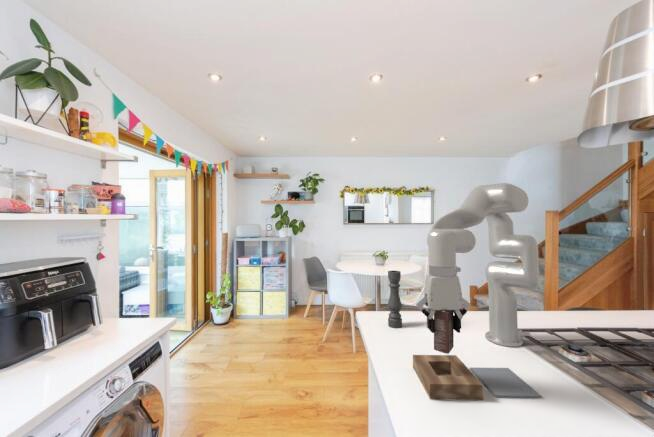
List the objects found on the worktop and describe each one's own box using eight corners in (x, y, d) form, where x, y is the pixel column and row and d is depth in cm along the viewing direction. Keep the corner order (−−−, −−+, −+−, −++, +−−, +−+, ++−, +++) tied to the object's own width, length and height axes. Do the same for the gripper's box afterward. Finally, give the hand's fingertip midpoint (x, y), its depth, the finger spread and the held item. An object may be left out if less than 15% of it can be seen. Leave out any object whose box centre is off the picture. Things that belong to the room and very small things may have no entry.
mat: (508, 369, 86) (508, 367, 86) (541, 398, 72) (541, 395, 72) (470, 369, 86) (470, 367, 86) (496, 397, 72) (496, 395, 72)
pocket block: (456, 367, 87) (455, 355, 87) (483, 399, 71) (482, 384, 71) (413, 367, 88) (412, 354, 88) (430, 399, 72) (429, 384, 72)
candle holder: (394, 329, 119) (393, 273, 120) (385, 324, 125) (384, 271, 125) (404, 326, 122) (403, 272, 123) (395, 322, 128) (394, 270, 128)
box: (438, 343, 84) (439, 304, 84) (453, 347, 81) (454, 307, 81) (432, 349, 79) (433, 309, 79) (448, 354, 76) (449, 312, 76)
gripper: (465, 268, 84) (467, 325, 83) (409, 269, 84) (411, 326, 84) (478, 273, 76) (480, 336, 76) (417, 274, 77) (418, 336, 77)
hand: (444, 330), depth 80 cm, fingers closed on box, 6 cm apart
